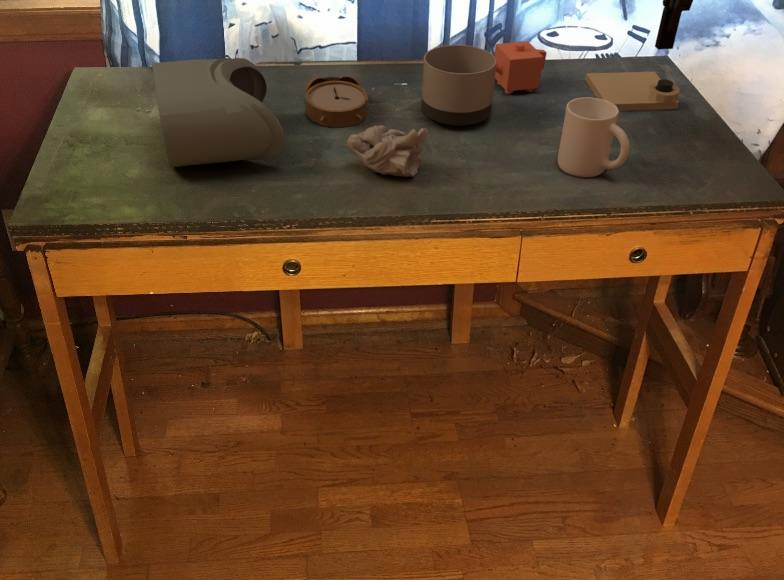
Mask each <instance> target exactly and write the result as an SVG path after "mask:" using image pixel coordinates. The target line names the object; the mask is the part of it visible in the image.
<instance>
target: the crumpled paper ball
mask: <svg viewBox="0 0 784 580" xmlns="http://www.w3.org/2000/svg"><path fill="white" fill-rule="evenodd" d="M428 134H429V130H428V129H427V128H425V127H423V128H420V129H419V130H417V129H414V128H412V129H411V130H410V131H409V132H408V133H406V132H405V131H402V130H398V129H394V128H390V129H388V130H387V128H386V126H385V125H383V124H381V125H373V126H371V127H368V128H366V129H365V130H364V131H360V132H359V133H358V134H357V133H353V134H350V135H349V137H347V140H346V147H347V149H348V150H349V151H350V152H351V153H352V154H353V155H355V156H356V157H358V158H359V159H360V160H361V161H362V163H363V165H364V166H365V167H366V168H368V169H369V170H370V171H373V172H376V173H379V174H381V175H384V176H386V175H390V176H394V177H403V178H408V177H411V178H413V177H415V176H416V175H417V174H418V170H419V168H420V165H421V163H422V162H421V159H420V158H419V157H418V156H419V155H420V154H421V153H422V152H423V148H422V147H419V146H420V145H421V144H423V143H424V142H425V140H426V138H427V137H428Z"/></svg>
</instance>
